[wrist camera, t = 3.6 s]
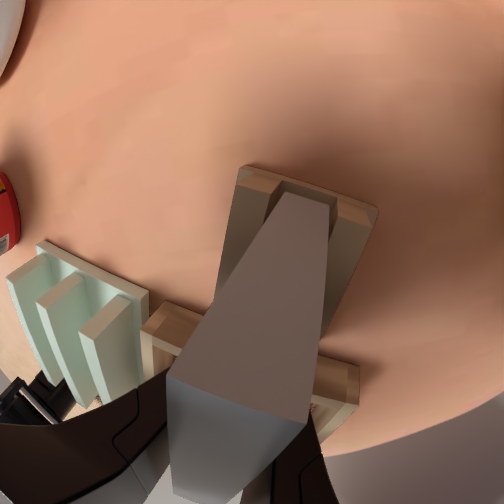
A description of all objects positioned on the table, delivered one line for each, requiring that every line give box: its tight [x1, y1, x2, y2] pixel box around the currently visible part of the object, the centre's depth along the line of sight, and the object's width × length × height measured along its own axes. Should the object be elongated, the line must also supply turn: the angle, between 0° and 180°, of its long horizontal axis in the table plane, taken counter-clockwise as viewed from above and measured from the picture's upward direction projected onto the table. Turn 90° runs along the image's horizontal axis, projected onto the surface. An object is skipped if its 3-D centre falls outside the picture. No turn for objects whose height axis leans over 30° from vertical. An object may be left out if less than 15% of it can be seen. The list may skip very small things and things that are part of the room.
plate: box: [166, 191, 329, 504], centre depth 8 cm, size 8×2×8 cm, turn 167°
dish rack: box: [5, 240, 149, 409], centre depth 19 cm, size 14×11×5 cm
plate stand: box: [213, 165, 379, 341], centre depth 12 cm, size 8×6×3 cm
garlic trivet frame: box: [140, 300, 360, 444], centre depth 18 cm, size 12×13×3 cm
